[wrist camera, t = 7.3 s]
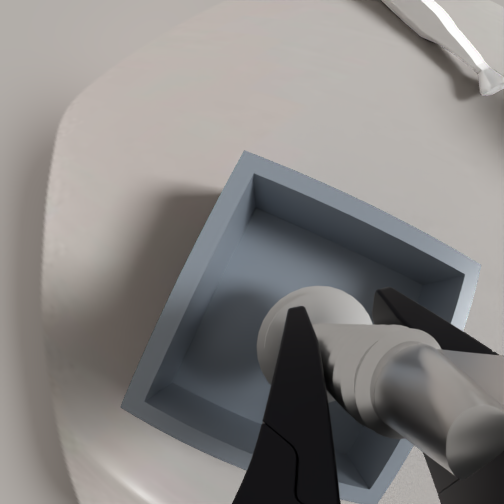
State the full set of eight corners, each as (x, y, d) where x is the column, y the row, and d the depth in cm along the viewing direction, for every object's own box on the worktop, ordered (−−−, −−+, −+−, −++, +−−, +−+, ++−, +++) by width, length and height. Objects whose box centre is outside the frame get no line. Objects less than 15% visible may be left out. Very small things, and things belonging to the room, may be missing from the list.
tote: (348, 464, 15) (375, 506, 10) (157, 384, 16) (120, 407, 11) (431, 279, 17) (481, 265, 12) (248, 194, 18) (244, 150, 13)
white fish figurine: (373, -23, 22) (381, -49, 19) (499, 96, 20) (521, 73, 16) (336, -18, 22) (343, -47, 18) (473, 111, 19) (498, 85, 15)
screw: (237, 359, 14) (294, 270, 15) (324, 411, 14) (379, 324, 14) (108, 538, 1) (420, 54, 2) (479, 614, 1) (644, 303, 2)
